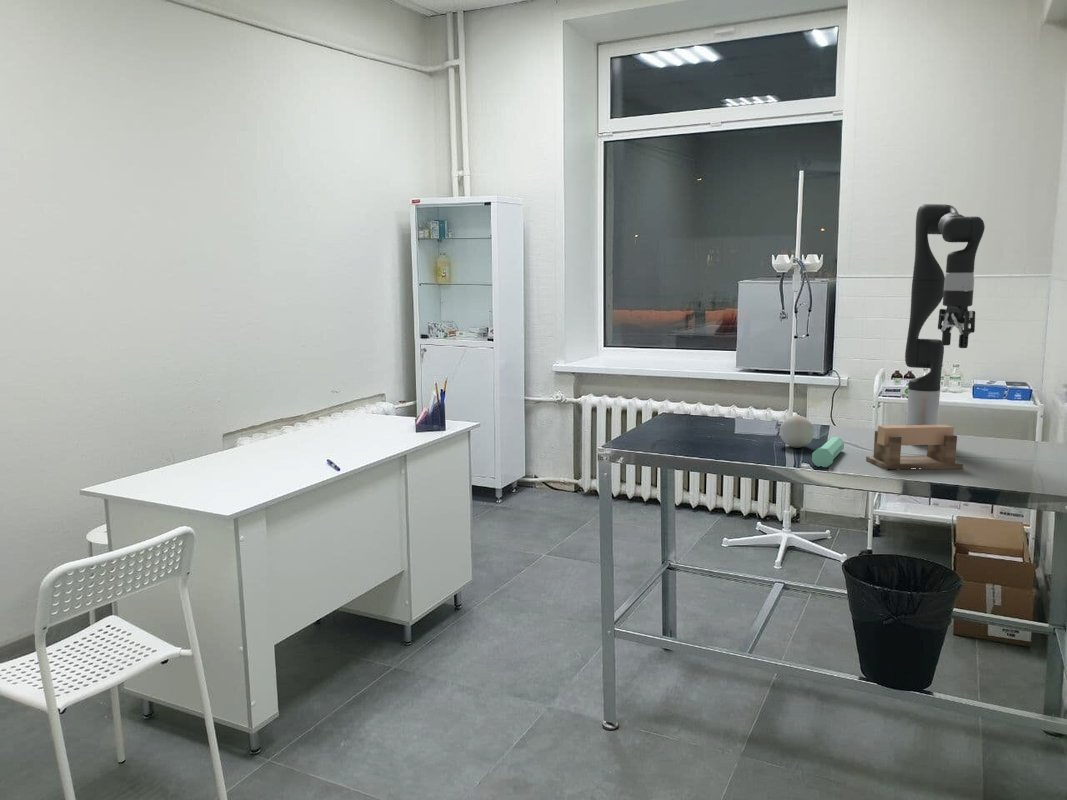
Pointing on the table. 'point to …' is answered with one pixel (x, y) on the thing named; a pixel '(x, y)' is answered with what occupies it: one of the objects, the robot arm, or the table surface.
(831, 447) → the mint green octagonal prism
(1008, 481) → the table surface
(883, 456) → the rack
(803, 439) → the grey ball
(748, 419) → the table surface
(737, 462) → the table surface
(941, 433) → the tan rectangular block
